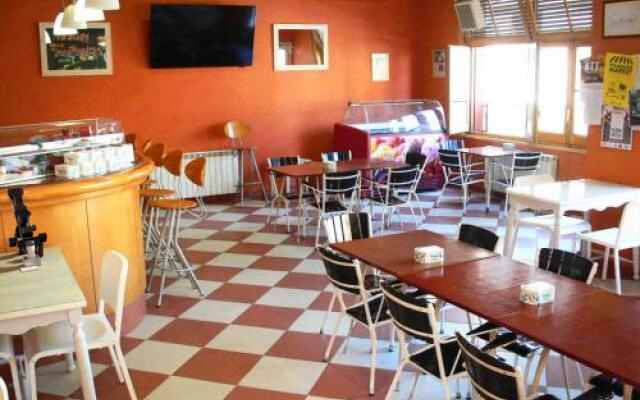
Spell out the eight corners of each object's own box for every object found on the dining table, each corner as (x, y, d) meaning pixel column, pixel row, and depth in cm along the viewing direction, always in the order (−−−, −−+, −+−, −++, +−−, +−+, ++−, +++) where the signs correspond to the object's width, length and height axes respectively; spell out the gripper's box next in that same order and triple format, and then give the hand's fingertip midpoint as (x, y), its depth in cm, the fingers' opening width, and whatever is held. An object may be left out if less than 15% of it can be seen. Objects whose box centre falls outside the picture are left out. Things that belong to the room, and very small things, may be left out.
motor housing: (23, 264, 349) (22, 256, 348) (38, 261, 353) (37, 254, 353) (25, 267, 343) (25, 260, 342) (41, 264, 347) (40, 257, 346)
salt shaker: (27, 264, 349) (24, 241, 346) (35, 262, 351) (33, 240, 349) (28, 266, 345) (26, 243, 343) (37, 264, 348) (34, 241, 345)
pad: (19, 268, 341) (19, 268, 341) (35, 266, 345) (35, 265, 345) (22, 272, 335) (22, 271, 335) (38, 269, 339) (38, 268, 339)
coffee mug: (48, 254, 367) (46, 237, 365) (40, 259, 358) (38, 241, 356) (28, 254, 368) (26, 237, 366) (20, 259, 359) (18, 241, 357)
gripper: (6, 222, 342) (12, 247, 335) (44, 217, 352) (51, 241, 345) (5, 234, 350) (11, 259, 343) (43, 229, 360) (49, 253, 353)
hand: (31, 253), depth 346 cm, fingers closed on salt shaker, 4 cm apart
